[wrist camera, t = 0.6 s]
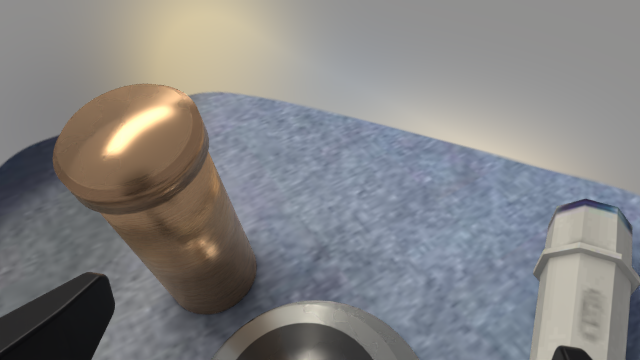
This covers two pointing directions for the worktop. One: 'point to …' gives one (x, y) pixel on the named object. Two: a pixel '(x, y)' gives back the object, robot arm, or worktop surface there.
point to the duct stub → (315, 335)
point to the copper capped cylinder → (159, 191)
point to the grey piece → (585, 282)
